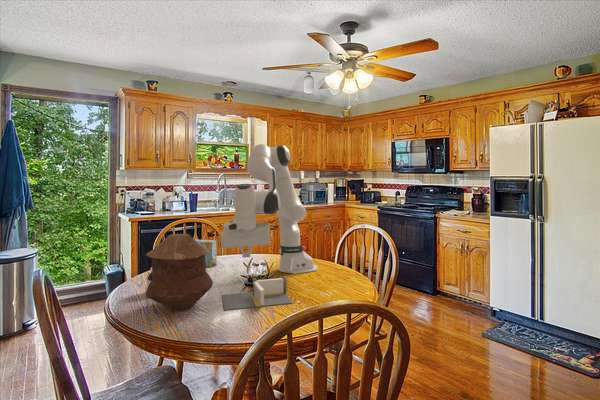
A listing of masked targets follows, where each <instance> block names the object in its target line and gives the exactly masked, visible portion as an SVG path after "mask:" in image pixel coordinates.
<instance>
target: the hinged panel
mask: <svg viewBox="0 0 600 400" xmlns="http://www.w3.org/2000/svg"><path fill="white" fill-rule="evenodd" d="M253 283H254V296H255V298H256V299H257V300H258V302H259V303H260V304H261V305H264V289H263V288H262V287H261V286H260V284H259V283H258V282H257V281H256V282H253V281H252V284H253Z"/></svg>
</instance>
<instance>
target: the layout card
mask: <svg viewBox="0 0 600 400" xmlns="http://www.w3.org/2000/svg"><path fill="white" fill-rule="evenodd" d="M221 297H222V305H223V309H224V311H233V310H243V309H253V308H254V307H255V308H262V307H263V308H264V307H274V306H281V305H291V304H293V301H292V299H290V297H289V296H288V295H287V292H286V293H283V292H282V293H271V294H264V305H261V304H260V303H259V302H258V300H257V299H256V298H255V296H253V291H250V292H249V291H248V292H235V293H226V294H221Z"/></svg>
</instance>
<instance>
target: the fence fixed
mask: <svg viewBox="0 0 600 400" xmlns="http://www.w3.org/2000/svg"><path fill="white" fill-rule="evenodd" d="M256 281H257V282H258V283H259V284H260V286H261V287H262V288H263V289H264V294H271V293H282V292H283V293H286V294H287V276H285V275H283V276H282V277H280V278H267V279H257V278H252V292H253V296H254V283H253V282H256Z"/></svg>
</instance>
